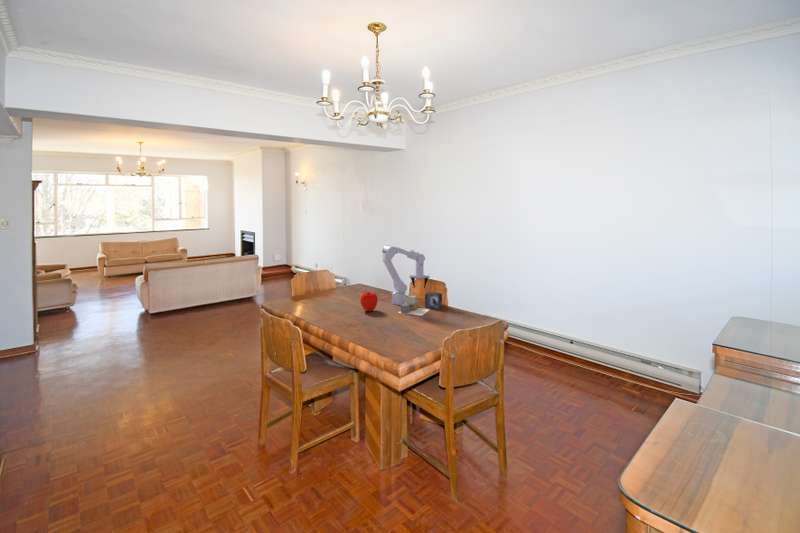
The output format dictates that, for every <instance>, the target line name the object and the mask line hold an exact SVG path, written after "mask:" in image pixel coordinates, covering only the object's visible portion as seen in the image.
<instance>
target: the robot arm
mask: <svg viewBox="0 0 800 533" xmlns="http://www.w3.org/2000/svg"><path fill="white" fill-rule="evenodd" d="M381 252H382V262H383V264H384V266H385V268H386V270H387V272H388V273H389V276H390V277H391V279H392V281H393V282H392V283H393V288H394V290H395V291H393V292H392V294H391V305H396V306H401V305H402V304H406V303H407V301H406V299H407V296H406V294H407V293H406V292H407V290H408V286H407V284H406V283H404V281H403V280H402V279H401V278H400V276H399V273H398V271H397V270H396V268H395V266H394V264H393V262H392V259H393V258H394V257H395V255H397V254H401V255H405V256H406V258H408V259H409V260H414V261H415V274H411V275H409V279H410V280H411V283H412V285H413V288H414V289H415V288H416V286H415V284H416V283H415V279H424V283H423V285H424V286H423V289H426V285H427V282H428V281H429V279H430V275H425V274H424V270H425V268H424V266H425V265H424V263H425V260H426V257H425V255H424V254H423V253H419V252H418V251H417V252H416V251H414V250H413V249H410V250H406V249H403V248H402V247H397V246H392V245H384V247H383V248H382V250H381Z"/></svg>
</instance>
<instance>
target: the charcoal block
mask: <svg viewBox="0 0 800 533" xmlns="http://www.w3.org/2000/svg"><path fill="white" fill-rule="evenodd" d="M400 311H401V313H400V314H404V313H409V312H410V304H402V305H400Z"/></svg>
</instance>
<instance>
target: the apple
mask: <svg viewBox="0 0 800 533" xmlns="http://www.w3.org/2000/svg"><path fill="white" fill-rule="evenodd" d="M378 300H379V299H378V295H377V294H376V293H375V292H373V291H372V292H370V291H366V292H363V293H362V294H361V295H360V298H359V301H360V305H361V307H362V308H363V310H364V311H365V312H373V311H374V310H375V309H376V307H377V305H378Z"/></svg>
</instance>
